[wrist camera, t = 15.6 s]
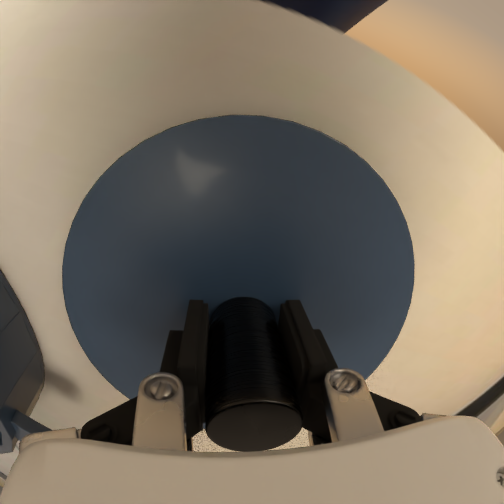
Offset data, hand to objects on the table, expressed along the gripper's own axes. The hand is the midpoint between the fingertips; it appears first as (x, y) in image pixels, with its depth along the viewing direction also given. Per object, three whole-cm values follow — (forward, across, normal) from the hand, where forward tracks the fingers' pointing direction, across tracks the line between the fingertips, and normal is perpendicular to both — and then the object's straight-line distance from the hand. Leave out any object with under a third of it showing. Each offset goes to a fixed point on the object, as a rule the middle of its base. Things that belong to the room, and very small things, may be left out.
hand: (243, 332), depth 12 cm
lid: (+1, 0, 0) cm, 1 cm away
